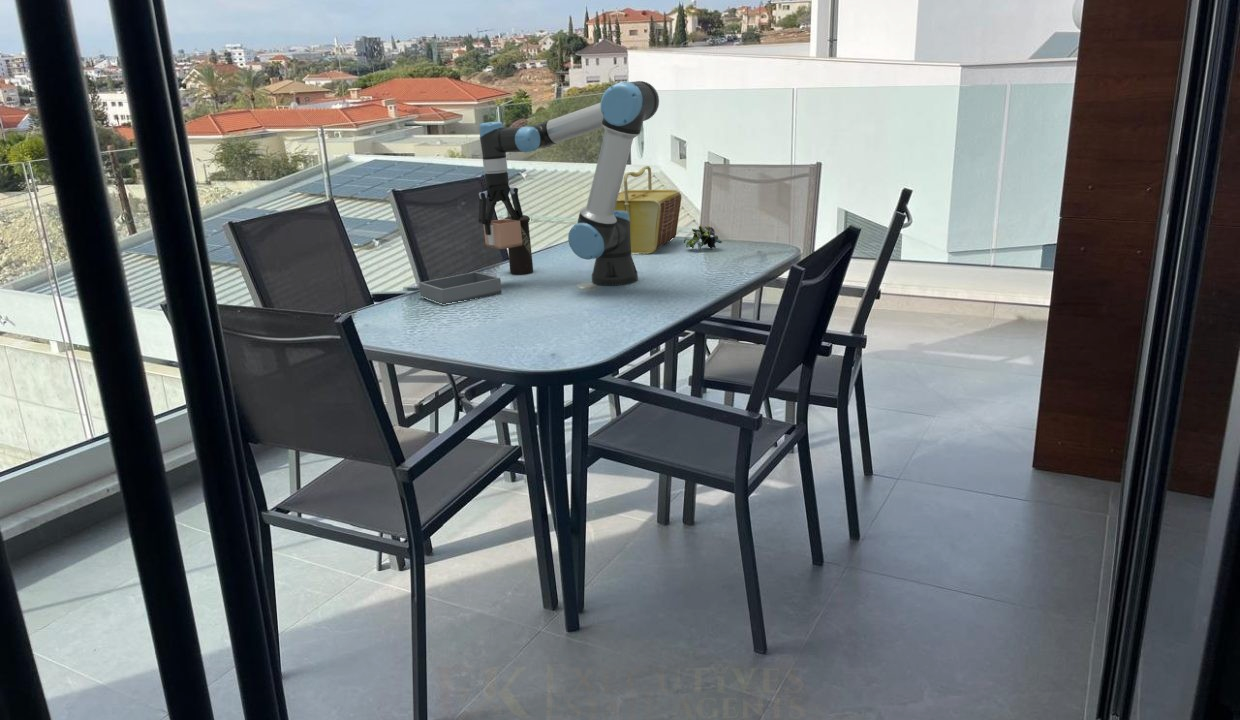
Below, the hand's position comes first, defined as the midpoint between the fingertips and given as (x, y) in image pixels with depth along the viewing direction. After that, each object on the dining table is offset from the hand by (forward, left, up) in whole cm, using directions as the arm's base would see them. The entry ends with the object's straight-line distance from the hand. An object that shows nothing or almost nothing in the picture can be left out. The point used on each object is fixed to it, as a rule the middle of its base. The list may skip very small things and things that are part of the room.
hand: (503, 242), depth 298 cm
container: (+13, -14, -14) cm, 24 cm away
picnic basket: (+14, -69, -14) cm, 72 cm away
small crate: (0, 0, -1) cm, 1 cm away
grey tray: (-2, +18, -14) cm, 23 cm away
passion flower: (-10, -79, -14) cm, 81 cm away
